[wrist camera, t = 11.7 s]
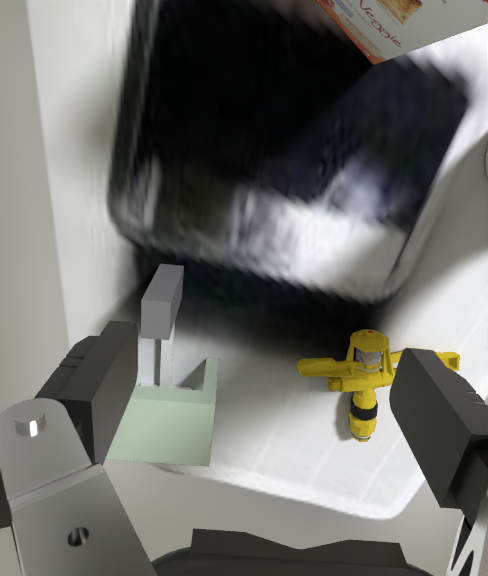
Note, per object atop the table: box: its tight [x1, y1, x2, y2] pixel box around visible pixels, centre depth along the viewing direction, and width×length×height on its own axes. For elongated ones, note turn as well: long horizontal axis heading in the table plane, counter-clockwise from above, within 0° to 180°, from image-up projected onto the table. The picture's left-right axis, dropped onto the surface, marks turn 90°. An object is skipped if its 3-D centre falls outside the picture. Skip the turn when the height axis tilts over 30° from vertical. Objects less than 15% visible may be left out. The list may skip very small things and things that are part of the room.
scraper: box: [140, 264, 192, 390], centre depth 40 cm, size 6×16×9 cm, turn 173°
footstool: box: [105, 358, 219, 466], centre depth 43 cm, size 12×8×8 cm, turn 83°
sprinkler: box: [296, 329, 460, 442], centre depth 46 cm, size 19×4×15 cm
